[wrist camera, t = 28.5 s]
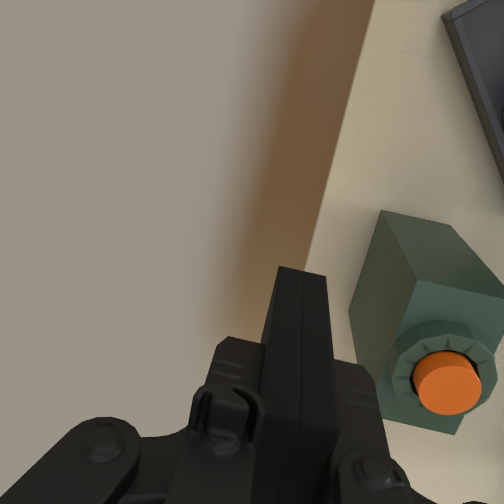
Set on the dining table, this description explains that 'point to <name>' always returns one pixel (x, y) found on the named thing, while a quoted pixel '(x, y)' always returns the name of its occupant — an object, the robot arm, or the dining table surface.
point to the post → (423, 314)
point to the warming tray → (482, 63)
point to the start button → (446, 383)
